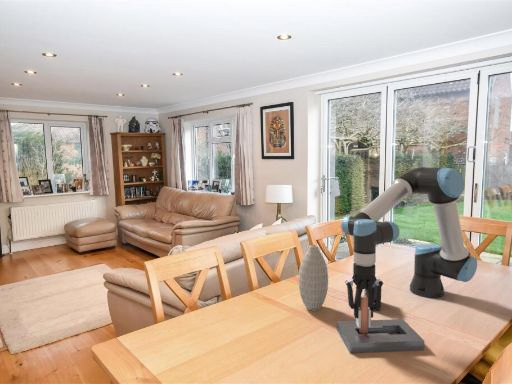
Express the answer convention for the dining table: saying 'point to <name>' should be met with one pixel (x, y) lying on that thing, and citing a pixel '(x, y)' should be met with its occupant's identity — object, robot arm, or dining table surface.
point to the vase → (313, 279)
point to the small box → (373, 297)
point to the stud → (364, 315)
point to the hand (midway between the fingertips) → (363, 325)
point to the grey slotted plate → (380, 337)
